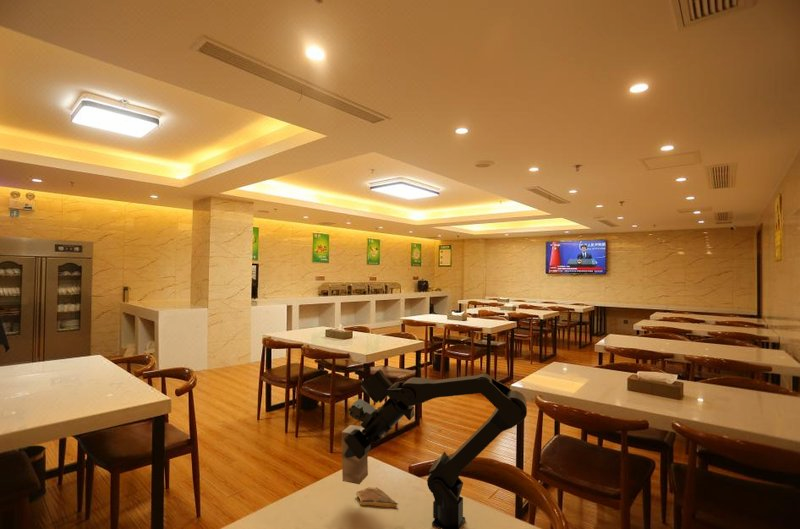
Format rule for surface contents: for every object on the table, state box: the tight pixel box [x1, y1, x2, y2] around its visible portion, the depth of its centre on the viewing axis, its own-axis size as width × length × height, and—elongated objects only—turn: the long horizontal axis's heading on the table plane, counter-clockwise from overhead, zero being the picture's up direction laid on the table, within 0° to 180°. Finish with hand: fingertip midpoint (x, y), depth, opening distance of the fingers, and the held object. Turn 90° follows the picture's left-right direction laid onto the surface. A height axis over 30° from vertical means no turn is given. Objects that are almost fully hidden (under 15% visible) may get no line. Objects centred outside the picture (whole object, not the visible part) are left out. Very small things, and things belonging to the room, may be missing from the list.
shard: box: [355, 486, 399, 508], centre depth 105 cm, size 11×8×2 cm
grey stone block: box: [340, 424, 369, 485], centre depth 105 cm, size 5×5×13 cm
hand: (350, 452), depth 106 cm, fingers closed on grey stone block, 5 cm apart
